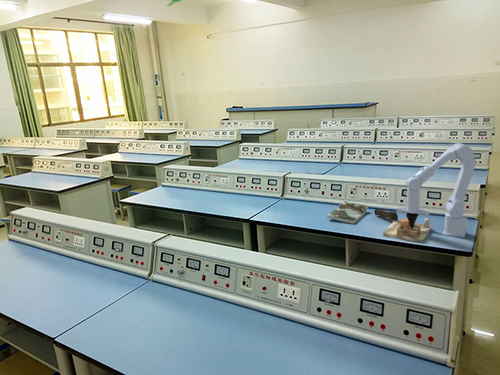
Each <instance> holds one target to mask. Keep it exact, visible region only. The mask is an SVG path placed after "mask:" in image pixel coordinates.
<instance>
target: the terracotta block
mask: <svg viewBox="0 0 500 375" xmlns="http://www.w3.org/2000/svg"><path fill="white" fill-rule="evenodd" d="M399 221H400V225H401V224H403V229H407V230H409V228H410V223H409V220H408V218H402V219H401V220H399Z"/></svg>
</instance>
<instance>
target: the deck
mask: <svg viewBox="0 0 500 375" xmlns="http://www.w3.org/2000/svg"><path fill="white" fill-rule="evenodd" d="M400 221H401V220H398V221H394V220H393V221H392V223H391V224H390V225H388V227H387V228H386V229H385V230H384V231H383V234H382V236H384V237H388V238H395V239H399V240H405V241H406V240H408V241H413V242H419V243H423V241H424V240H425V239H426V237H427V236H428V235H429V232H430V231H431V230H432V225H431V224H430V227H429V228H426V227H424V223H416V222H415V224H414V227H413V228H409V230H407V229H403V224H401V225H400Z"/></svg>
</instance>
